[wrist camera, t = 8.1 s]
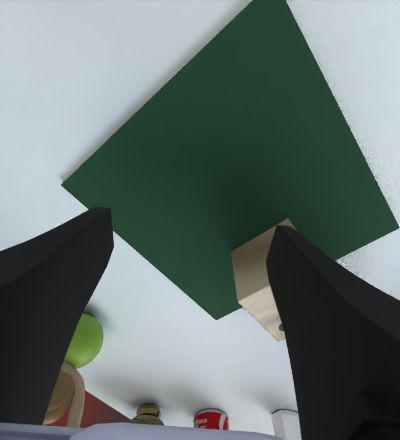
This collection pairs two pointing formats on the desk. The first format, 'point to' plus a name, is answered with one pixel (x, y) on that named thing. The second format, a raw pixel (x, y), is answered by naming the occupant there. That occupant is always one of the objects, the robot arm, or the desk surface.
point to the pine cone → (147, 415)
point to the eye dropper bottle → (286, 425)
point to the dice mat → (235, 160)
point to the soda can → (211, 420)
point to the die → (257, 281)
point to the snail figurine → (75, 372)
